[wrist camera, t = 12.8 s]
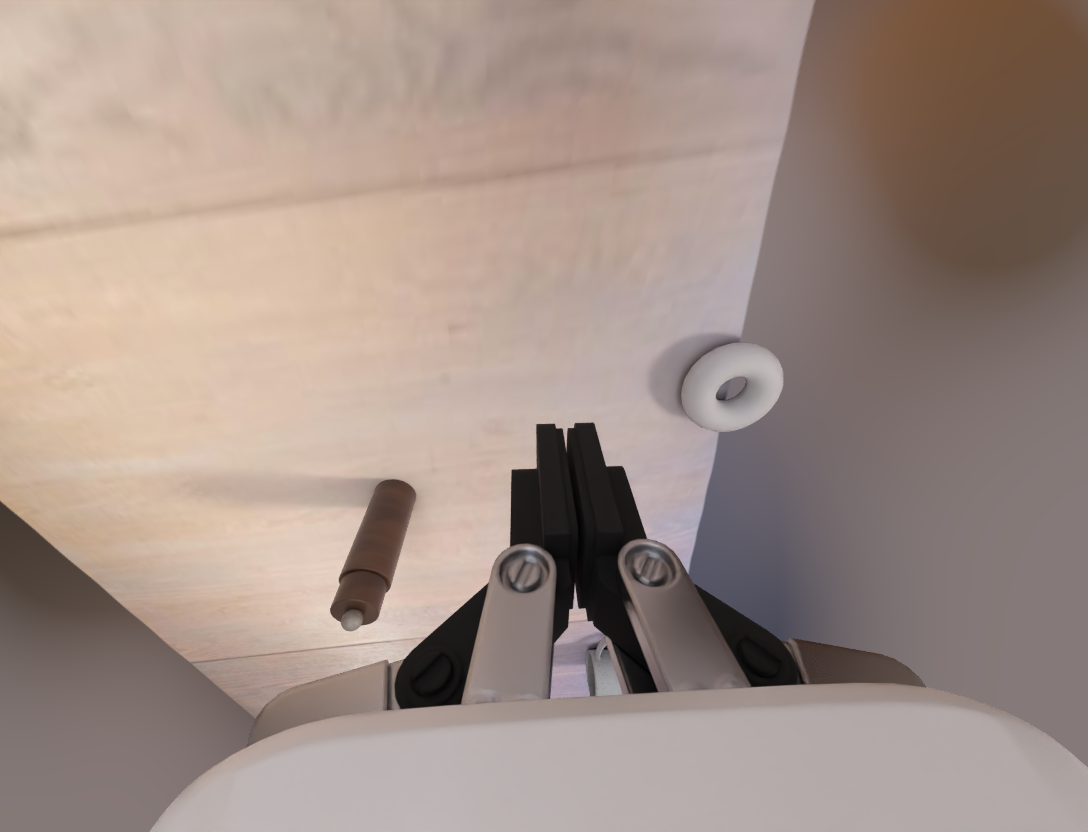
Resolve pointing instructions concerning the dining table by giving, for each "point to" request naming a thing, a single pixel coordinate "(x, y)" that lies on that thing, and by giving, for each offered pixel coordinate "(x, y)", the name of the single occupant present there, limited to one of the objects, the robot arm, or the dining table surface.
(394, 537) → the pepper mill
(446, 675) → the robot arm
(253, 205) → the dining table surface
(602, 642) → the ceramic mug
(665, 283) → the dining table surface
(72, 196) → the dining table surface
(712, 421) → the donut
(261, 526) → the dining table surface
